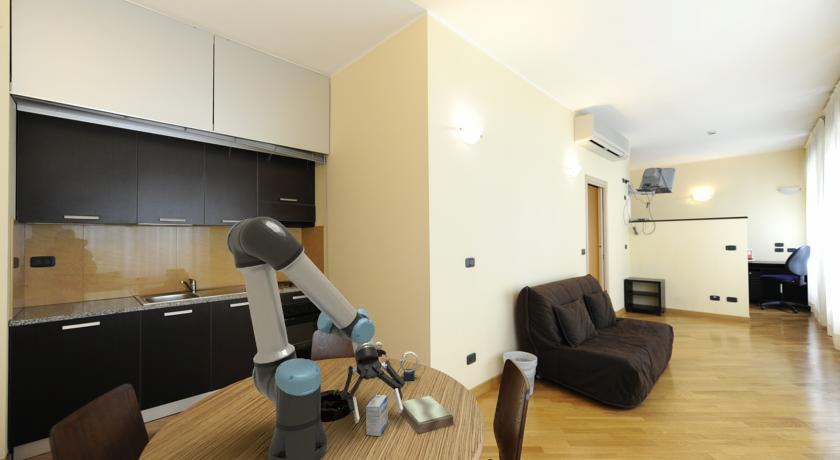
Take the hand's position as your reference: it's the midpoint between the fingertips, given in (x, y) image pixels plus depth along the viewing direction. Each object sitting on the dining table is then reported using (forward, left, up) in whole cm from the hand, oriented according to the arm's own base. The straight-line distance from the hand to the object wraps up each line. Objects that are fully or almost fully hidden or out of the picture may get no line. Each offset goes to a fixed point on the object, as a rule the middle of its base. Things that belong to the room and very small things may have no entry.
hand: (379, 416), depth 104 cm
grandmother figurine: (+16, +49, -5) cm, 52 cm away
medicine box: (0, +2, -5) cm, 5 cm away
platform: (+16, +2, -5) cm, 17 cm away
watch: (+24, +34, -5) cm, 42 cm away
